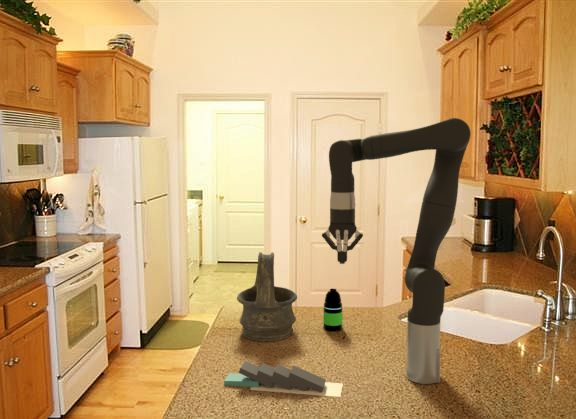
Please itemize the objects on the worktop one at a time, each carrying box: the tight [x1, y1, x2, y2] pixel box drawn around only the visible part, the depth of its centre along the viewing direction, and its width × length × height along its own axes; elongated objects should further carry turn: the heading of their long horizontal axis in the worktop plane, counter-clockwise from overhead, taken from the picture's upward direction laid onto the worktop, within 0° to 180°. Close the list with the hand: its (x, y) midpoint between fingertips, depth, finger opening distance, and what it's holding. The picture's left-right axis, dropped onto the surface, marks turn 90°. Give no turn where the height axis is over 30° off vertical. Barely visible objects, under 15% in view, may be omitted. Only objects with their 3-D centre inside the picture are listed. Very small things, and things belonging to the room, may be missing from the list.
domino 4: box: [272, 364, 308, 391], centre depth 144 cm, size 2×5×10 cm
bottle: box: [322, 288, 344, 333], centre depth 191 cm, size 7×7×15 cm
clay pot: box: [236, 252, 298, 342], centre depth 187 cm, size 22×23×30 cm
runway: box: [249, 381, 344, 398], centre depth 144 cm, size 25×8×1 cm, turn 79°
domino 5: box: [288, 364, 326, 392], centre depth 144 cm, size 2×5×10 cm
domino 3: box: [257, 363, 292, 390], centre depth 145 cm, size 2×5×10 cm
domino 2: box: [238, 360, 273, 388], centre depth 146 cm, size 2×5×10 cm
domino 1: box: [223, 372, 261, 388], centre depth 147 cm, size 2×5×10 cm
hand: (342, 263), depth 157 cm, fingers closed
